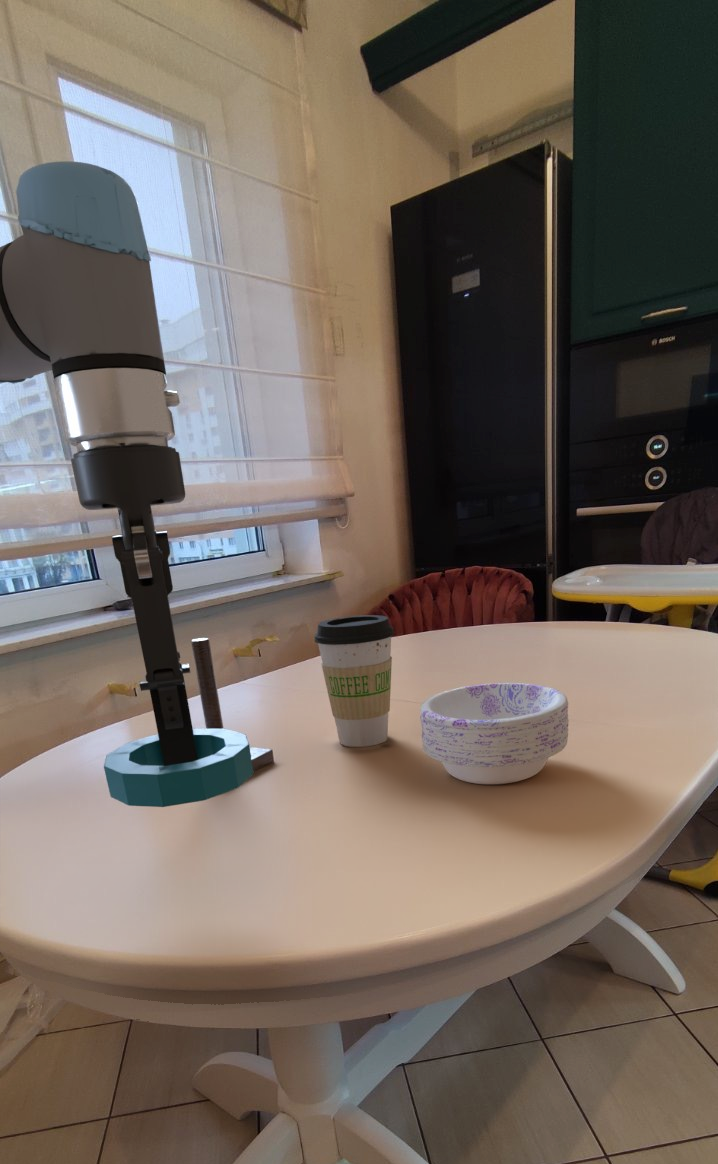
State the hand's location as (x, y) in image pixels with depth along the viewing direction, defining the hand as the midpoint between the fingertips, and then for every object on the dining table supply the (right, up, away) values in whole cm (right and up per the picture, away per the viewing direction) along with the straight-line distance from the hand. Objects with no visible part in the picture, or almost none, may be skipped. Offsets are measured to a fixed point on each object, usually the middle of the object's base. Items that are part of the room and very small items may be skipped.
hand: (180, 758), depth 60 cm
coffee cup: (+15, +4, +33) cm, 36 cm away
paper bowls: (+30, -1, +18) cm, 34 cm away
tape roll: (+1, -2, -4) cm, 4 cm away
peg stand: (-2, 0, +26) cm, 26 cm away
